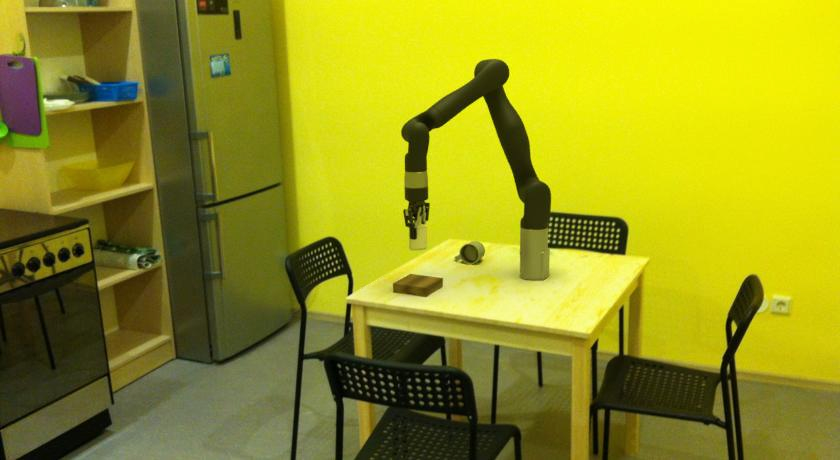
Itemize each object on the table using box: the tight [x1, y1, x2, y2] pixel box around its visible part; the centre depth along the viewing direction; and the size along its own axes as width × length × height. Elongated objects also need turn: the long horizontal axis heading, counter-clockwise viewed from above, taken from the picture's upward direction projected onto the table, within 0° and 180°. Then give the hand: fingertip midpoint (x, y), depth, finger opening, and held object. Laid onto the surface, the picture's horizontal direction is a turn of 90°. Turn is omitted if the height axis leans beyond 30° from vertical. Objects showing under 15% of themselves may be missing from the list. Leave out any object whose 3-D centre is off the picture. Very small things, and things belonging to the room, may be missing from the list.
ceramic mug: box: [454, 240, 486, 265], centre depth 295 cm, size 11×8×8 cm
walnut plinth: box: [392, 273, 444, 298], centre depth 263 cm, size 12×12×3 cm
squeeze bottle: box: [408, 216, 428, 252], centre depth 259 cm, size 4×6×12 cm
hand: (417, 237), depth 259 cm, fingers closed on squeeze bottle, 5 cm apart
